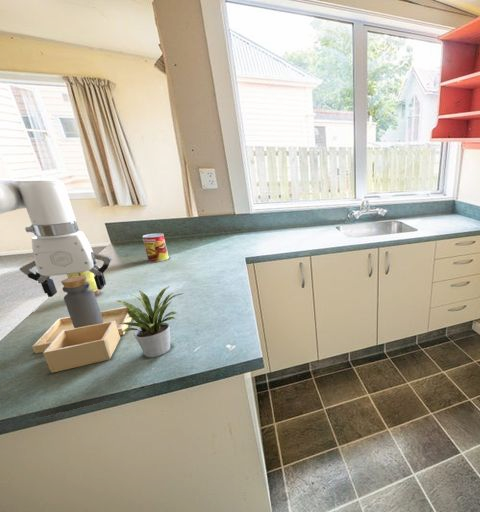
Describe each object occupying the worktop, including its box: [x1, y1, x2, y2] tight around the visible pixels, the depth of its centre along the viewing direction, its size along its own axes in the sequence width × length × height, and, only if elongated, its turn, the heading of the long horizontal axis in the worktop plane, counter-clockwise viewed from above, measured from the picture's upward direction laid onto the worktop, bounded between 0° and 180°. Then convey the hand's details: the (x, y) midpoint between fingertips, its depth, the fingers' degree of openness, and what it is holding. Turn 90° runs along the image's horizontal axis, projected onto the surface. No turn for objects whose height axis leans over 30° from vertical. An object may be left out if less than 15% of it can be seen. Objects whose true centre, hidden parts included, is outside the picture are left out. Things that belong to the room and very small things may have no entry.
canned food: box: [142, 232, 170, 263], centre depth 140 cm, size 8×8×12 cm
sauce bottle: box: [66, 271, 101, 297], centre depth 101 cm, size 6×6×20 cm
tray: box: [31, 306, 133, 355], centre depth 83 cm, size 17×15×2 cm
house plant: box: [111, 285, 185, 358], centre depth 73 cm, size 14×14×16 cm
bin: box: [42, 321, 121, 374], centre depth 73 cm, size 10×10×5 cm
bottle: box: [60, 276, 104, 328], centre depth 81 cm, size 6×6×15 cm
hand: (77, 291), depth 80 cm, fingers open, 9 cm apart
